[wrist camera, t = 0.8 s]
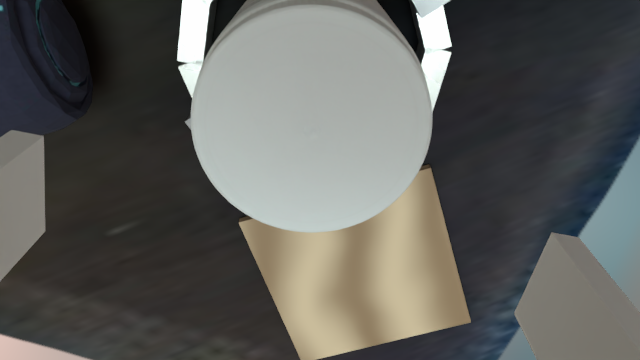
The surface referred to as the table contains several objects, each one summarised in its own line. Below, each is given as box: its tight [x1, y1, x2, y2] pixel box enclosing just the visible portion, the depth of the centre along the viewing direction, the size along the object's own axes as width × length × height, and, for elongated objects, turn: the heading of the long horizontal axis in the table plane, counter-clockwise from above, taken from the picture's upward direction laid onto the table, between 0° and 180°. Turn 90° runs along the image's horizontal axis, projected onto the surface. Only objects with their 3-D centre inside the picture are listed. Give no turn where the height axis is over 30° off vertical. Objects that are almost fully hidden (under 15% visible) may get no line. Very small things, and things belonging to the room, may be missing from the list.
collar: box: [177, 0, 452, 129], centre depth 32 cm, size 16×16×4 cm
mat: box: [239, 164, 471, 360], centre depth 40 cm, size 14×14×1 cm
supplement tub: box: [191, 0, 432, 233], centre depth 27 cm, size 10×10×15 cm
